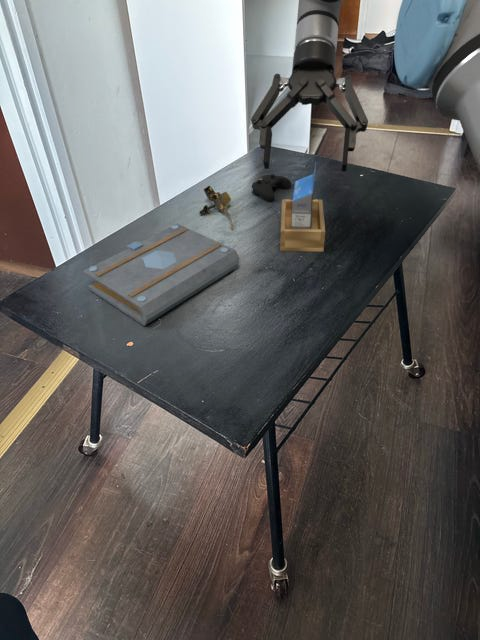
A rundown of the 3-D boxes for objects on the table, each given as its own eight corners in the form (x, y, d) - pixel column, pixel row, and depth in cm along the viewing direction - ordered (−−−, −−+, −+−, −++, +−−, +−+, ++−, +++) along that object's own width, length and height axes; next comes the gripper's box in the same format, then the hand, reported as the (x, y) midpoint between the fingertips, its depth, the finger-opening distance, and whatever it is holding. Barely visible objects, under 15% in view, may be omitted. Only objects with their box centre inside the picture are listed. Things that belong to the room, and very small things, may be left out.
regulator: (248, 229, 98) (224, 190, 107) (243, 216, 95) (218, 176, 104) (216, 246, 98) (194, 205, 107) (209, 233, 95) (188, 192, 104)
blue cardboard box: (293, 218, 98) (295, 159, 90) (312, 219, 97) (316, 160, 89) (290, 241, 91) (292, 179, 83) (310, 242, 90) (314, 179, 82)
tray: (320, 218, 99) (322, 199, 96) (323, 251, 89) (325, 231, 86) (281, 218, 100) (282, 199, 97) (280, 251, 90) (280, 230, 87)
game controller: (273, 200, 104) (257, 177, 103) (259, 212, 108) (242, 190, 107) (294, 183, 110) (278, 162, 109) (280, 195, 114) (264, 175, 113)
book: (148, 330, 73) (142, 305, 70) (87, 290, 82) (80, 265, 79) (239, 271, 85) (238, 247, 82) (178, 241, 94) (175, 218, 90)
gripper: (383, 65, 87) (375, 177, 85) (248, 65, 91) (237, 172, 89) (390, 37, 79) (381, 159, 77) (243, 38, 83) (231, 155, 81)
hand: (304, 167), depth 83 cm, fingers open, 13 cm apart
